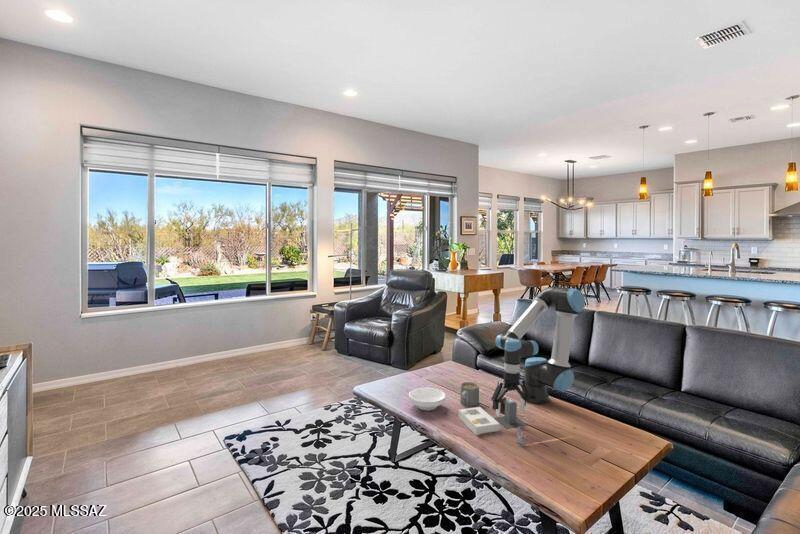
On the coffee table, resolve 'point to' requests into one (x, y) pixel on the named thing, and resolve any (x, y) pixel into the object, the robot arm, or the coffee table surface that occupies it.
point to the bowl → (427, 398)
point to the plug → (510, 411)
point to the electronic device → (502, 406)
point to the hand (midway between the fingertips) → (510, 413)
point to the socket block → (478, 420)
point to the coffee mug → (469, 394)
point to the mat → (508, 426)
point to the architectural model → (518, 437)
